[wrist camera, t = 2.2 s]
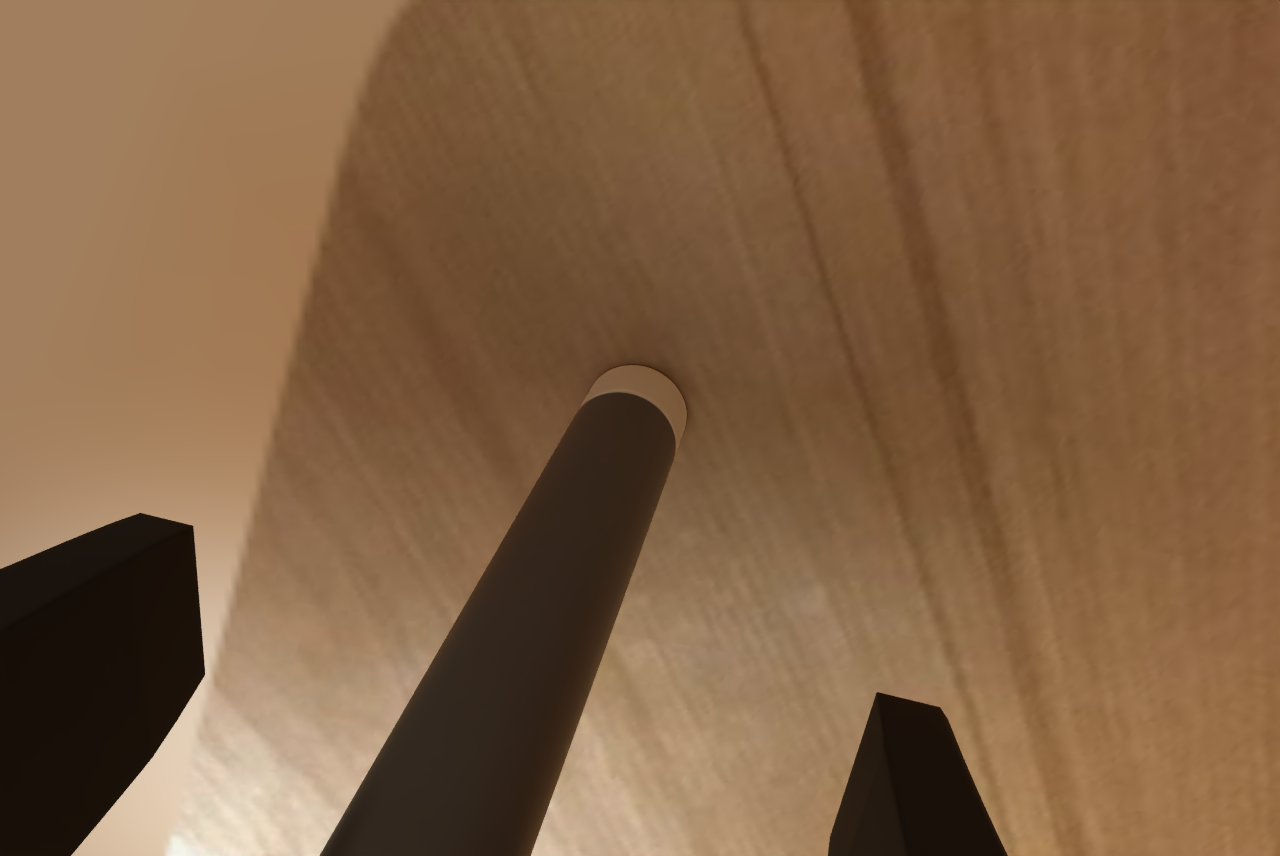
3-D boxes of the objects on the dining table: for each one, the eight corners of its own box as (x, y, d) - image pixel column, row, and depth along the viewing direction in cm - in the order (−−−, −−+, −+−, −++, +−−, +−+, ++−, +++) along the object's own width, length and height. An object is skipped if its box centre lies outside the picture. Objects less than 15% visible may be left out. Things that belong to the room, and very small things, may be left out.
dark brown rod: (582, 443, 17) (194, 1164, 7) (593, 353, 16) (177, 1027, 7) (678, 464, 17) (412, 1233, 7) (695, 375, 16) (419, 1098, 6)
